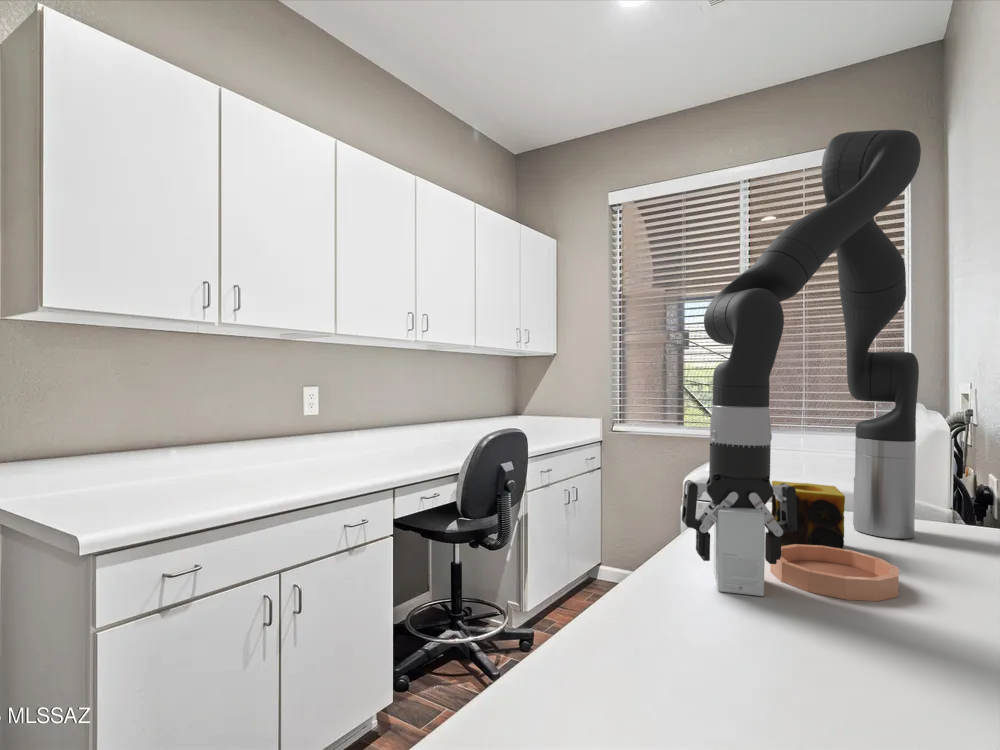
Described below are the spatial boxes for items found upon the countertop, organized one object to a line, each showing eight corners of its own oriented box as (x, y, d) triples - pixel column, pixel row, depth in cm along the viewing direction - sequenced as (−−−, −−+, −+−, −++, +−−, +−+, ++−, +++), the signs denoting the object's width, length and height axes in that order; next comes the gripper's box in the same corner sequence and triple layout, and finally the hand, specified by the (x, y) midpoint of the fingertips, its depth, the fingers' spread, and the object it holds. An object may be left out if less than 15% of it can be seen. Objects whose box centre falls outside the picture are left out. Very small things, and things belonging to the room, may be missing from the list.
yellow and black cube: (772, 551, 91) (773, 489, 91) (768, 535, 101) (769, 479, 101) (845, 560, 87) (846, 495, 88) (834, 543, 97) (835, 484, 97)
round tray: (756, 559, 87) (757, 542, 87) (860, 564, 85) (860, 547, 85) (798, 596, 72) (799, 576, 72) (925, 603, 70) (925, 582, 70)
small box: (764, 598, 71) (766, 514, 71) (716, 592, 73) (718, 510, 73) (755, 577, 79) (756, 501, 79) (712, 572, 80) (714, 498, 81)
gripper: (783, 438, 79) (781, 555, 79) (679, 435, 80) (676, 549, 80) (807, 444, 72) (805, 573, 71) (691, 441, 73) (689, 567, 73)
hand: (737, 560), depth 76 cm, fingers open, 8 cm apart
